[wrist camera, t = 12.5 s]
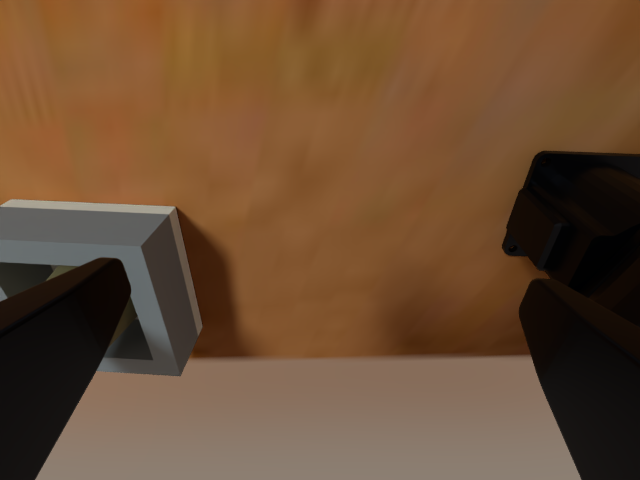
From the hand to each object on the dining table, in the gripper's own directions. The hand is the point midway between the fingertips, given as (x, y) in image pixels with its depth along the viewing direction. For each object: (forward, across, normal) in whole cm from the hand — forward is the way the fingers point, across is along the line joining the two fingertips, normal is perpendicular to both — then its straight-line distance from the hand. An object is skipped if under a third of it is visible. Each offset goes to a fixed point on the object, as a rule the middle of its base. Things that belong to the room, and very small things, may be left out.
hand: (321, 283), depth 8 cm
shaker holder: (+13, +15, +10) cm, 22 cm away
